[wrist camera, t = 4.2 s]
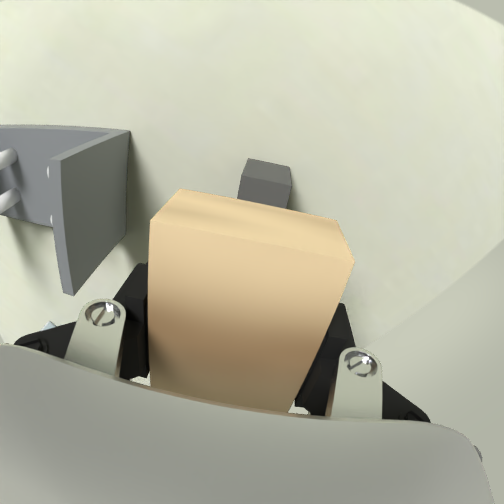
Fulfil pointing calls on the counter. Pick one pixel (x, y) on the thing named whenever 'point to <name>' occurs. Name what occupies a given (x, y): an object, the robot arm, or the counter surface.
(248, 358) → the tan wooden block
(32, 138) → the shelf frame
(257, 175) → the dark grey block
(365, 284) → the counter surface
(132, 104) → the counter surface
